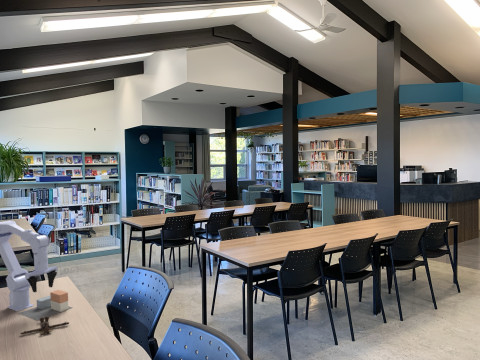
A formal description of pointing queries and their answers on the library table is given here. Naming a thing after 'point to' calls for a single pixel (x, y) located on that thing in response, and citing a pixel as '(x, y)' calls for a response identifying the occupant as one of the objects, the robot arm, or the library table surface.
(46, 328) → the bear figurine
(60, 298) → the terracotta brick
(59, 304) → the cream brick
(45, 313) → the charcoal mat
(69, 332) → the library table surface
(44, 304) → the slate brick
